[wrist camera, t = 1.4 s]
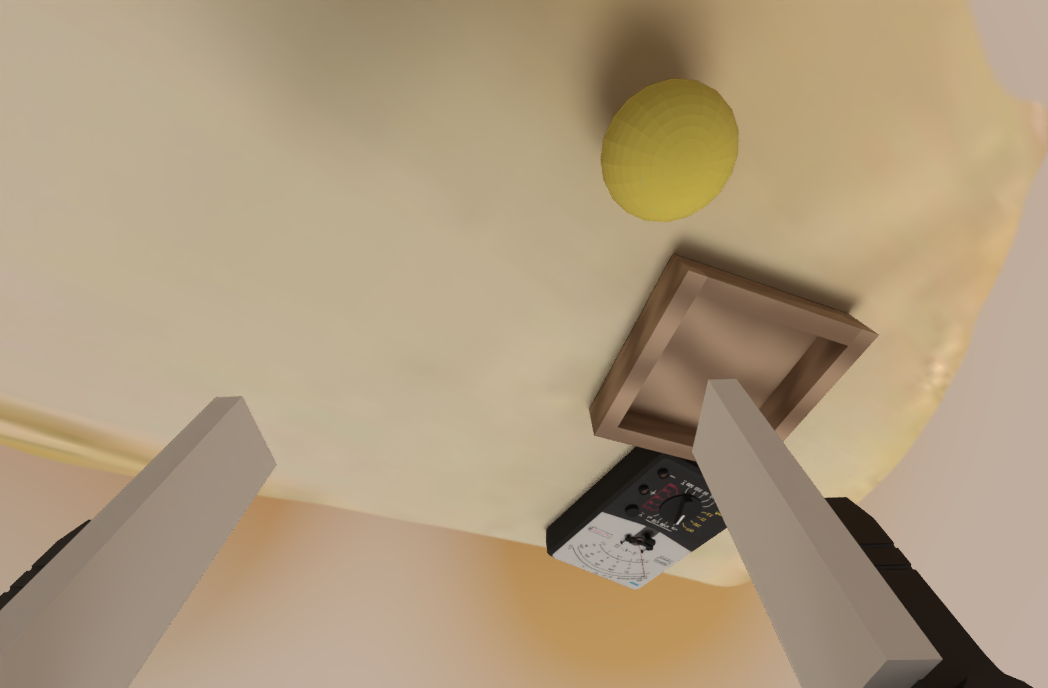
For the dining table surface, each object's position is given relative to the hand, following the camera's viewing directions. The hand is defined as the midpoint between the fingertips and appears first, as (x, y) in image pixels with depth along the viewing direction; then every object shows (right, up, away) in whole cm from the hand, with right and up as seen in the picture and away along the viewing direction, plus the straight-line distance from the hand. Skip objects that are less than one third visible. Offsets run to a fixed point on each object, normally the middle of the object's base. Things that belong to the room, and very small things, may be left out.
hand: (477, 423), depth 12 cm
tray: (+18, 0, +24) cm, 30 cm away
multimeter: (+14, -15, +35) cm, 41 cm away
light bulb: (+9, +16, +15) cm, 23 cm away
